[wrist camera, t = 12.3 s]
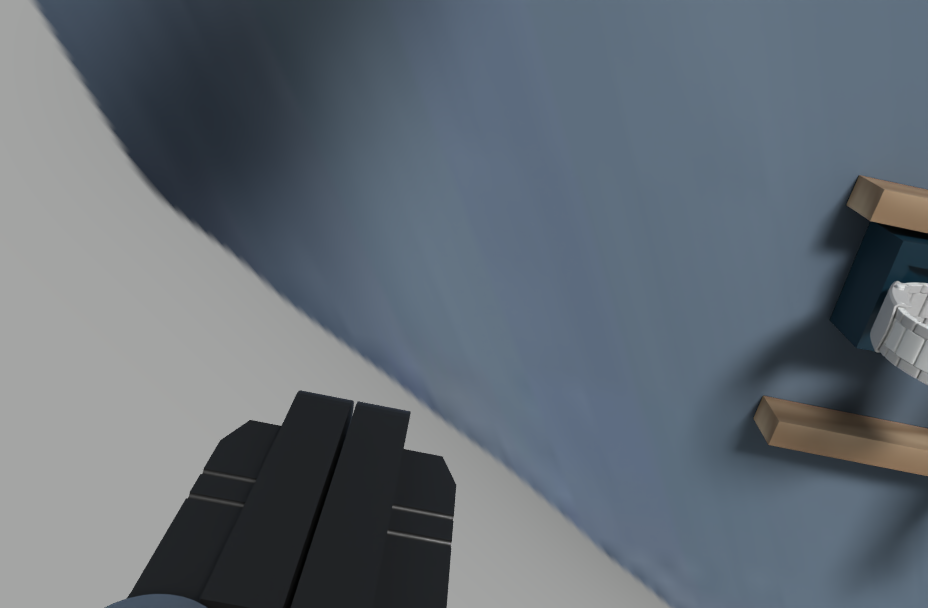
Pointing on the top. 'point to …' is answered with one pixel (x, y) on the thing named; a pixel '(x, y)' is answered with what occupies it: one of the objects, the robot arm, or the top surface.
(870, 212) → the display stand
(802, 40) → the top surface
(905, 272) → the watch
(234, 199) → the top surface
